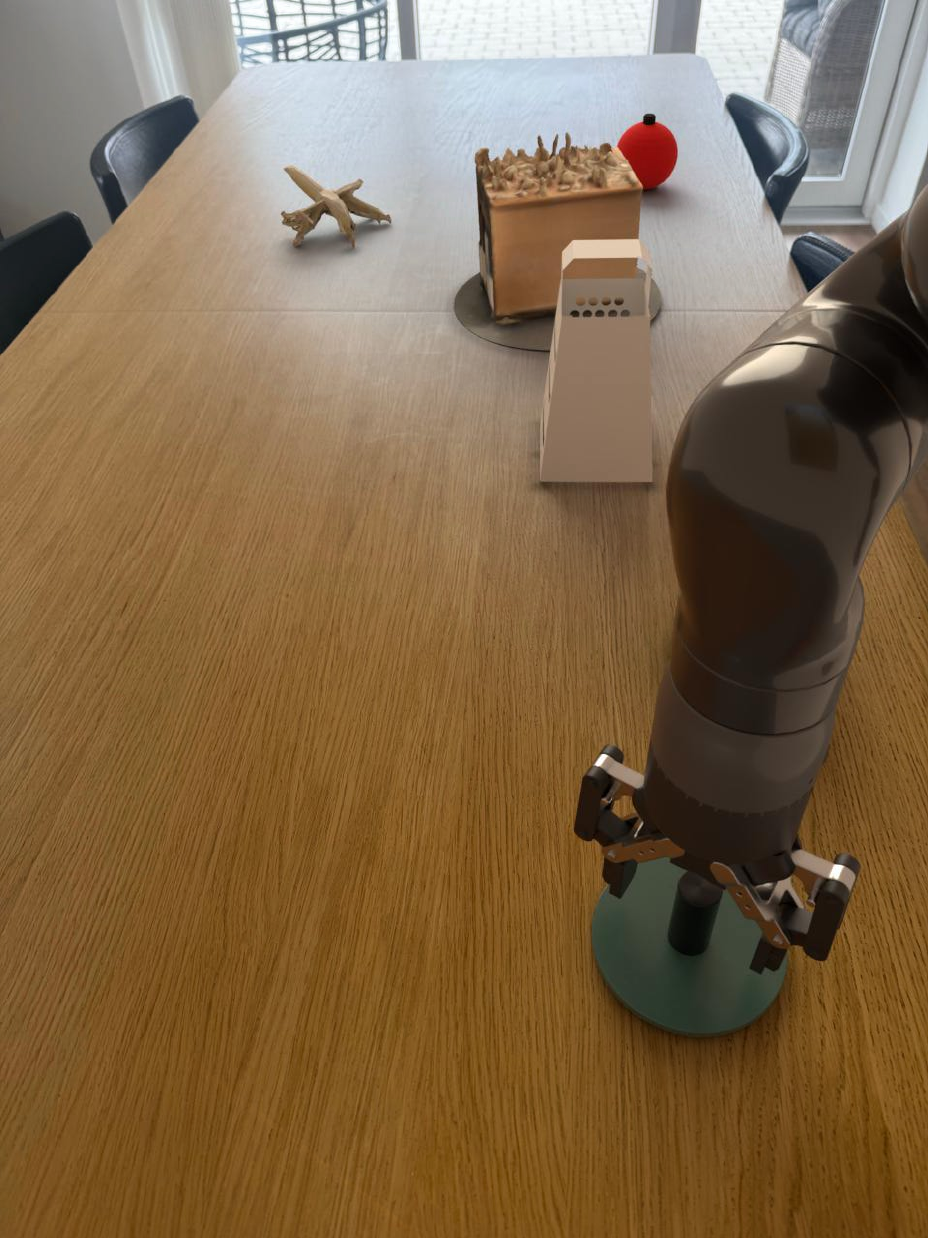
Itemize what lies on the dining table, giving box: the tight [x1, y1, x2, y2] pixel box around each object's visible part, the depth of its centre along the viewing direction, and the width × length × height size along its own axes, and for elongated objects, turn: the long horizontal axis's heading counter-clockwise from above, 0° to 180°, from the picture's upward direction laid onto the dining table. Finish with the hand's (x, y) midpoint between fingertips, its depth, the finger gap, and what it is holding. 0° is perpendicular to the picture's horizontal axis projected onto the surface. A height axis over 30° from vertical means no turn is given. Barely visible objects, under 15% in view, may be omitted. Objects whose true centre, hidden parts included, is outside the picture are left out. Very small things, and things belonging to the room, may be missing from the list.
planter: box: [453, 132, 662, 351], centre depth 111 cm, size 25×25×19 cm
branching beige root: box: [280, 164, 392, 249], centre depth 134 cm, size 9×16×15 cm
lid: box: [590, 857, 789, 1038], centre depth 55 cm, size 11×11×7 cm
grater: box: [539, 238, 654, 483], centre depth 88 cm, size 10×10×20 cm
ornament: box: [616, 113, 679, 190], centre depth 140 cm, size 9×9×10 cm
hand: (690, 921), depth 55 cm, fingers open, 8 cm apart
